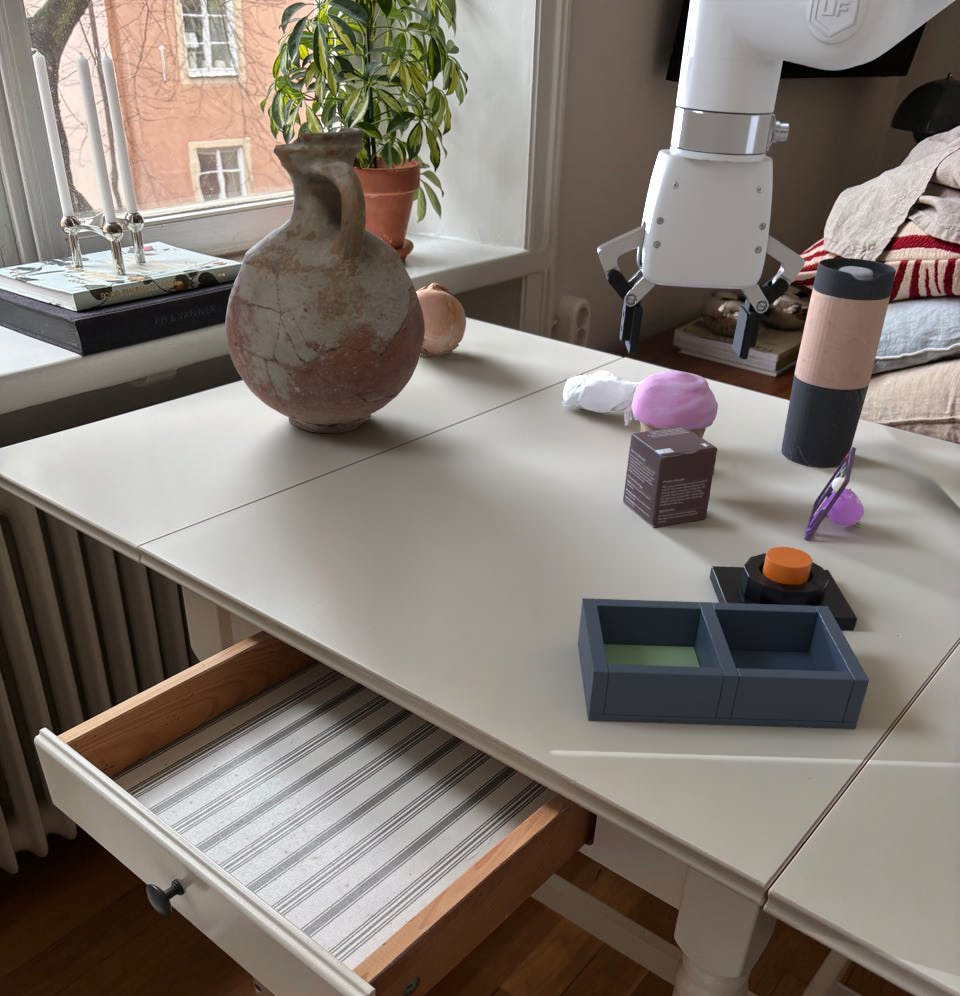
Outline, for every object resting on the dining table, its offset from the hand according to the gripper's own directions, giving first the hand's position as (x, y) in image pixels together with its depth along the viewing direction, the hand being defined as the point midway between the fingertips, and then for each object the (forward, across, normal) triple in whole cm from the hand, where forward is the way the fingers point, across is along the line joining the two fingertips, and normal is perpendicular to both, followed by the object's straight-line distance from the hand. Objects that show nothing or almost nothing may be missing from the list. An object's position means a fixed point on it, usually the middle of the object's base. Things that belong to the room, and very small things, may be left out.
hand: (685, 351), depth 87 cm
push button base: (+15, -7, +17) cm, 24 cm away
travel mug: (+16, -19, -16) cm, 29 cm away
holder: (+15, +1, +29) cm, 33 cm away
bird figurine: (+16, +4, -27) cm, 32 cm away
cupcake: (+16, -2, -12) cm, 20 cm away
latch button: (+13, -7, +17) cm, 23 cm away
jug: (+16, +35, -22) cm, 44 cm away
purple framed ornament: (+15, -16, +2) cm, 23 cm away
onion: (+16, +25, -49) cm, 57 cm away
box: (+16, 0, 0) cm, 16 cm away
